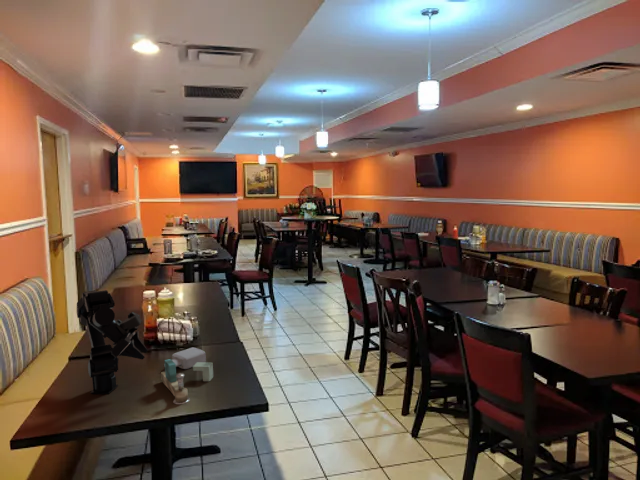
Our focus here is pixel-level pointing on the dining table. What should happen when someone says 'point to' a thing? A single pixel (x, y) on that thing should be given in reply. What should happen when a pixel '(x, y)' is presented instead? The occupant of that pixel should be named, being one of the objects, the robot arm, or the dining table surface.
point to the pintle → (180, 387)
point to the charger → (188, 357)
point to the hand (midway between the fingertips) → (145, 354)
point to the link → (173, 381)
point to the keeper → (204, 370)
